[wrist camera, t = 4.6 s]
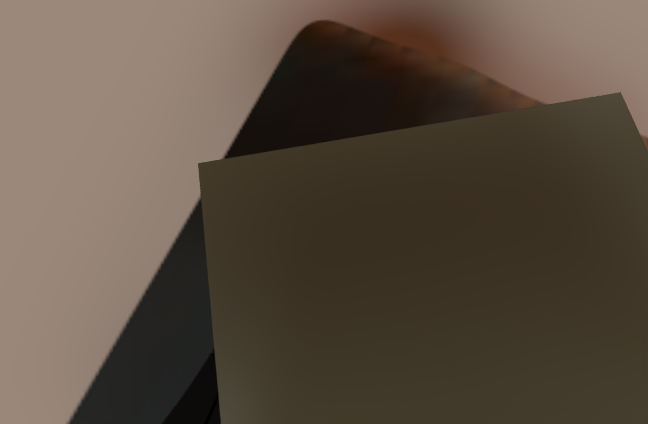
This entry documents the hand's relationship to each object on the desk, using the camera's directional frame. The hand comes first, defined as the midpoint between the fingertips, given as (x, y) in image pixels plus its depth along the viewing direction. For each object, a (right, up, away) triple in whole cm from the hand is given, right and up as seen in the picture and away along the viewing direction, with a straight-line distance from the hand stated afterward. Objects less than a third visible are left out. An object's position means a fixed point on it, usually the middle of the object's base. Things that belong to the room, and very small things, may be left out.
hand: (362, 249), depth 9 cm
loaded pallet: (0, -3, +7) cm, 7 cm away
